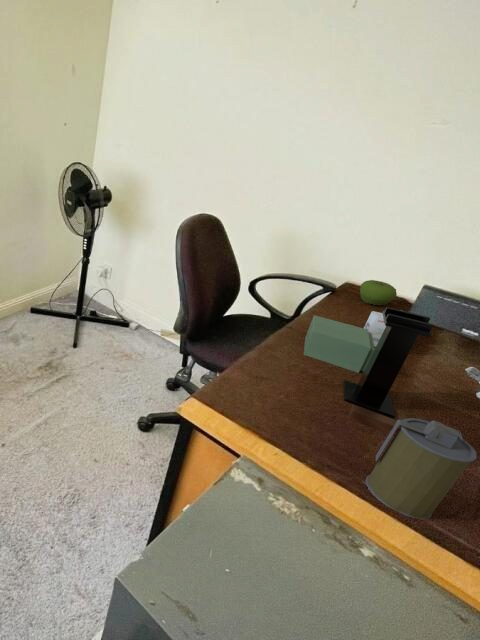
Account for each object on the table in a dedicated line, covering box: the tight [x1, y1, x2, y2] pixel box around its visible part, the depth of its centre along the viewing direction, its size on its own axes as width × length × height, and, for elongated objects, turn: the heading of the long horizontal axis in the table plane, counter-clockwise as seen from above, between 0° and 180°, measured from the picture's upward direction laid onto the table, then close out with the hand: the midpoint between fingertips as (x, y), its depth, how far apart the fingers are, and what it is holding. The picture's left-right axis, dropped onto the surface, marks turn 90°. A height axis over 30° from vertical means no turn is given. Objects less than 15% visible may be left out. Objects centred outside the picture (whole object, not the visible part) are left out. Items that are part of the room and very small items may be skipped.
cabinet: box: [303, 314, 371, 374], centre depth 131 cm, size 14×13×10 cm
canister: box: [365, 417, 478, 520], centre depth 83 cm, size 11×10×20 cm
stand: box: [342, 306, 434, 419], centre depth 109 cm, size 10×10×28 cm
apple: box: [359, 279, 398, 306], centre depth 163 cm, size 11×10×10 cm
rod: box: [348, 404, 400, 437], centre depth 102 cm, size 20×3×3 cm, turn 50°
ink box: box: [363, 310, 386, 346], centre depth 135 cm, size 9×5×12 cm, turn 59°
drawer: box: [359, 334, 376, 373], centre depth 129 cm, size 17×11×8 cm
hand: (473, 380), depth 91 cm, fingers open, 8 cm apart
